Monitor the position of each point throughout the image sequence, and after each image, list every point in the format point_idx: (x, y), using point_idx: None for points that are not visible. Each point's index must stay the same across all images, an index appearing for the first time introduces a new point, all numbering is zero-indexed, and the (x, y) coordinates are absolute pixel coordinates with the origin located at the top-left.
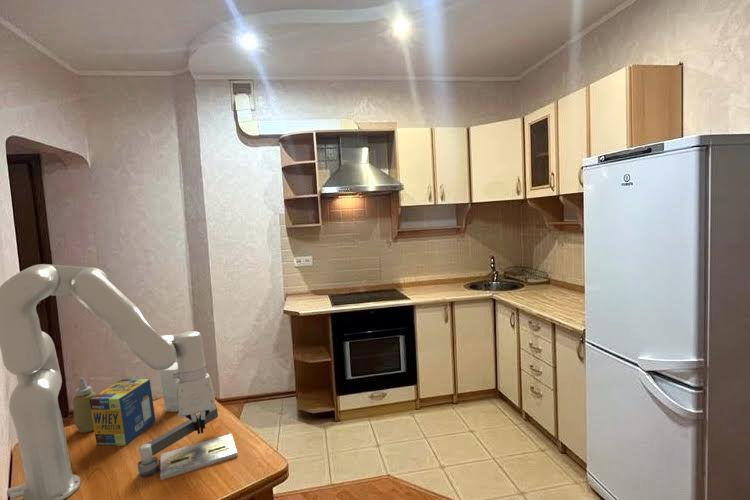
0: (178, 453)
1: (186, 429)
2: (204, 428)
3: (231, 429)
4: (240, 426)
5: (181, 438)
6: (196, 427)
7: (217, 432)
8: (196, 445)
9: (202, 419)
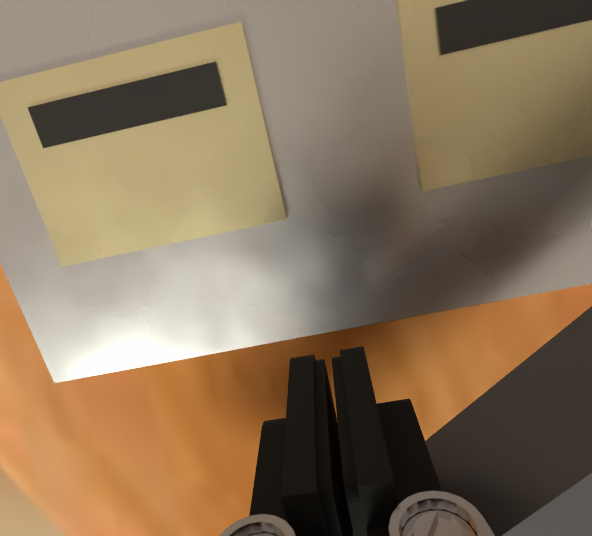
0: (558, 191)
1: (541, 434)
2: (278, 420)
3: (110, 484)
4: (42, 502)
5: (579, 320)
6: (387, 430)
7: (224, 480)
8: (377, 286)
9: (270, 529)
